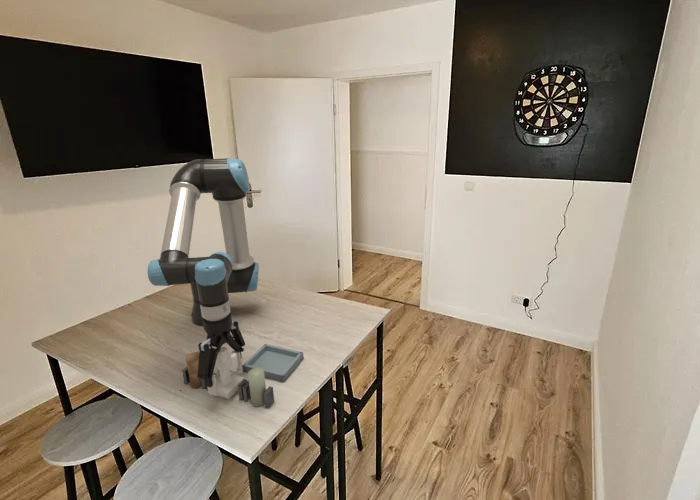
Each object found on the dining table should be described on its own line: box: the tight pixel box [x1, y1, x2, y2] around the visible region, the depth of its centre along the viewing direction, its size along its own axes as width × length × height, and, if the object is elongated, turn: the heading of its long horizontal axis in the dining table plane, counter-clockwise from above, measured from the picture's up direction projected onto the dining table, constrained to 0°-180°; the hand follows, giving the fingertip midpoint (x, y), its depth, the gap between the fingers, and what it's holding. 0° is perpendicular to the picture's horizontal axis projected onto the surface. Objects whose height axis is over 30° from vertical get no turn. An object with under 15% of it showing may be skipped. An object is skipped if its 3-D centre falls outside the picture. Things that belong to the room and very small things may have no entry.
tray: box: [242, 343, 304, 383], centre depth 120 cm, size 15×13×2 cm
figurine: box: [213, 346, 245, 400], centre depth 106 cm, size 7×9×15 cm
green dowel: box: [247, 368, 267, 408], centre depth 103 cm, size 4×4×10 cm
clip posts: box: [181, 365, 275, 409], centre depth 108 cm, size 30×3×5 cm, turn 69°
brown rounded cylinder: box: [185, 351, 202, 390], centre depth 111 cm, size 4×4×10 cm
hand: (226, 381), depth 107 cm, fingers open, 10 cm apart
